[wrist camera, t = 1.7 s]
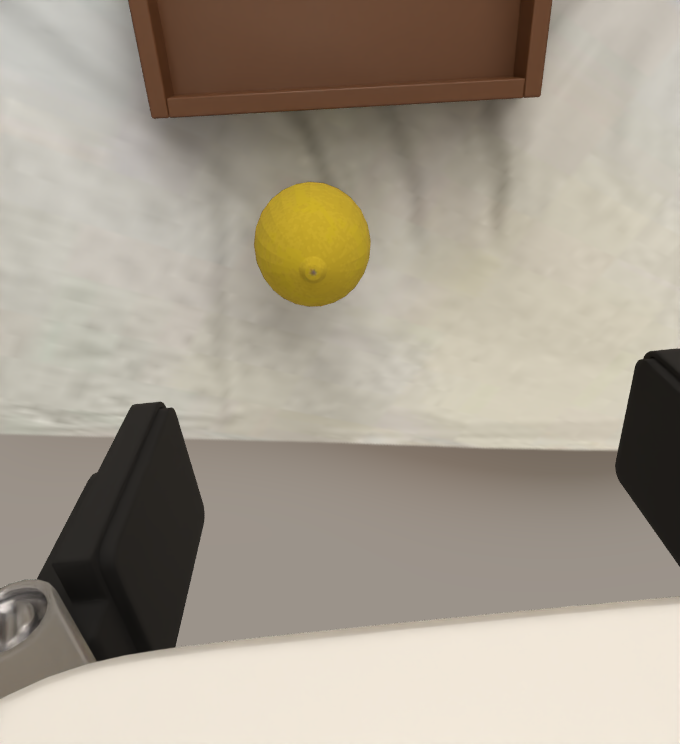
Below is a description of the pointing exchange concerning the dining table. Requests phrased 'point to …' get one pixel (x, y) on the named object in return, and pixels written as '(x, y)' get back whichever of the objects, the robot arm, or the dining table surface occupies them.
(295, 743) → the robot arm
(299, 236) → the lemon
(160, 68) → the tray
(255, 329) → the dining table surface
